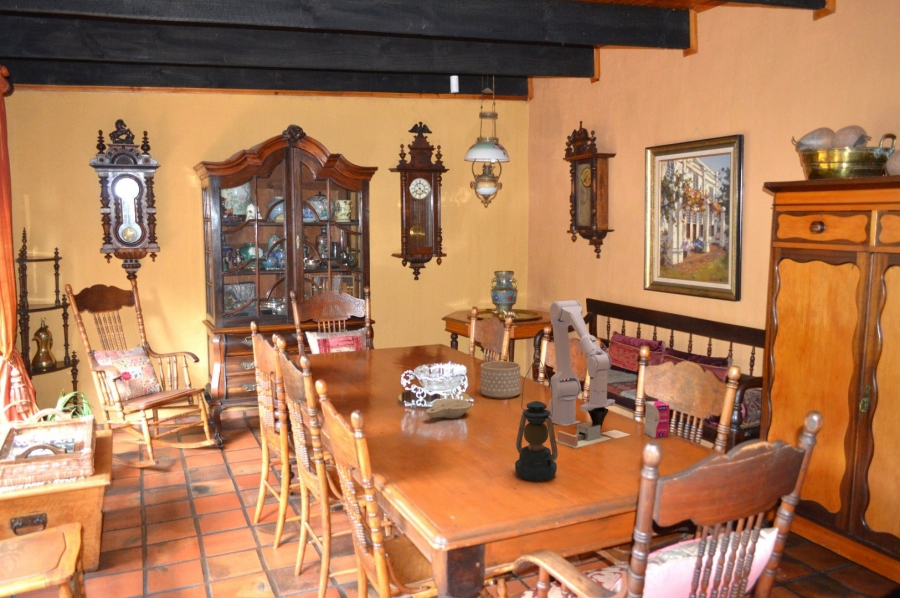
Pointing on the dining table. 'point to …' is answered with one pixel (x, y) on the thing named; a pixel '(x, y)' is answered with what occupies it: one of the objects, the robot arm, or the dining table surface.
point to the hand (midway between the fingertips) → (597, 429)
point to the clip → (589, 430)
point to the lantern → (536, 442)
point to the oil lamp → (448, 408)
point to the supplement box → (656, 419)
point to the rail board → (577, 440)
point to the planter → (500, 379)
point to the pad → (615, 434)
